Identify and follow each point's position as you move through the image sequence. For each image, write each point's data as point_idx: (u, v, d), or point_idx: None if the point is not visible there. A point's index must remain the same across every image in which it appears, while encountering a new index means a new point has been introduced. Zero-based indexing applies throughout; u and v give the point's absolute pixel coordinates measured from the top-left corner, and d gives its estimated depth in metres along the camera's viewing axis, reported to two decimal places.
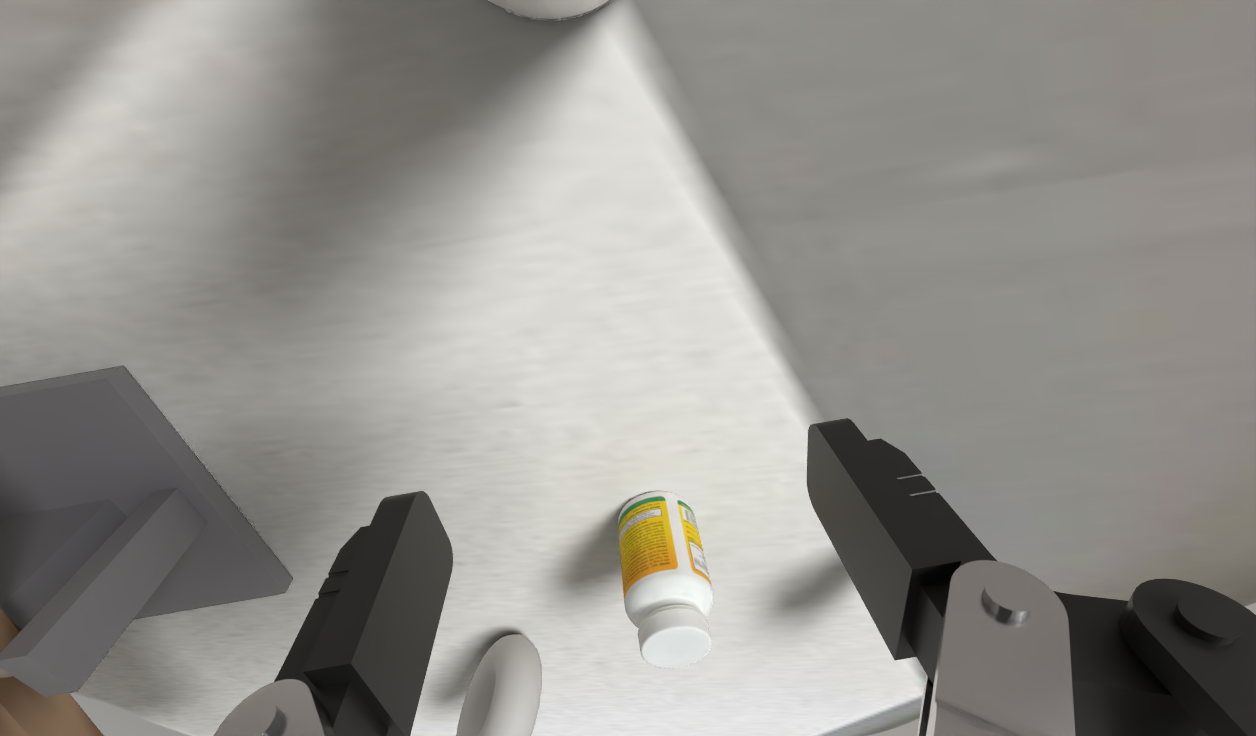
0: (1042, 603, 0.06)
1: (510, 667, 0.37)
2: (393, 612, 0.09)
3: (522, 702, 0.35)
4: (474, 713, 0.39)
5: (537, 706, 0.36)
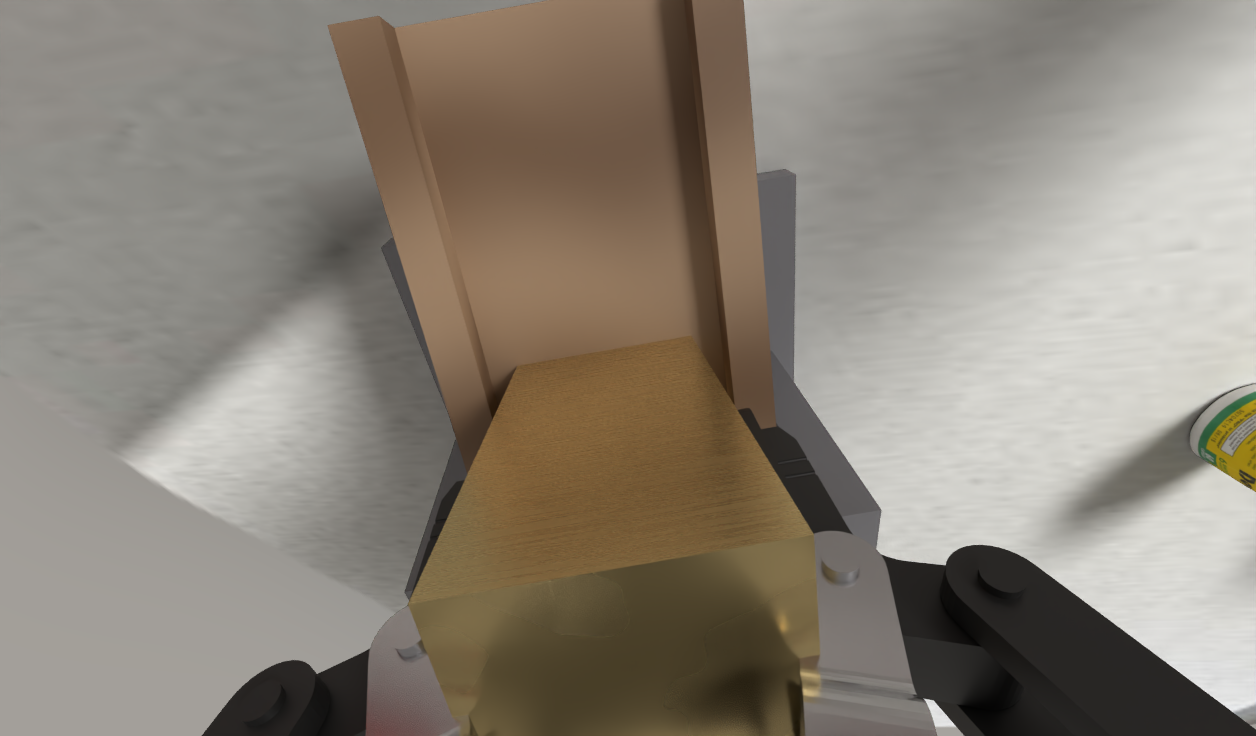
0: (869, 566, 0.07)
1: None
2: None
3: None
4: None
5: None
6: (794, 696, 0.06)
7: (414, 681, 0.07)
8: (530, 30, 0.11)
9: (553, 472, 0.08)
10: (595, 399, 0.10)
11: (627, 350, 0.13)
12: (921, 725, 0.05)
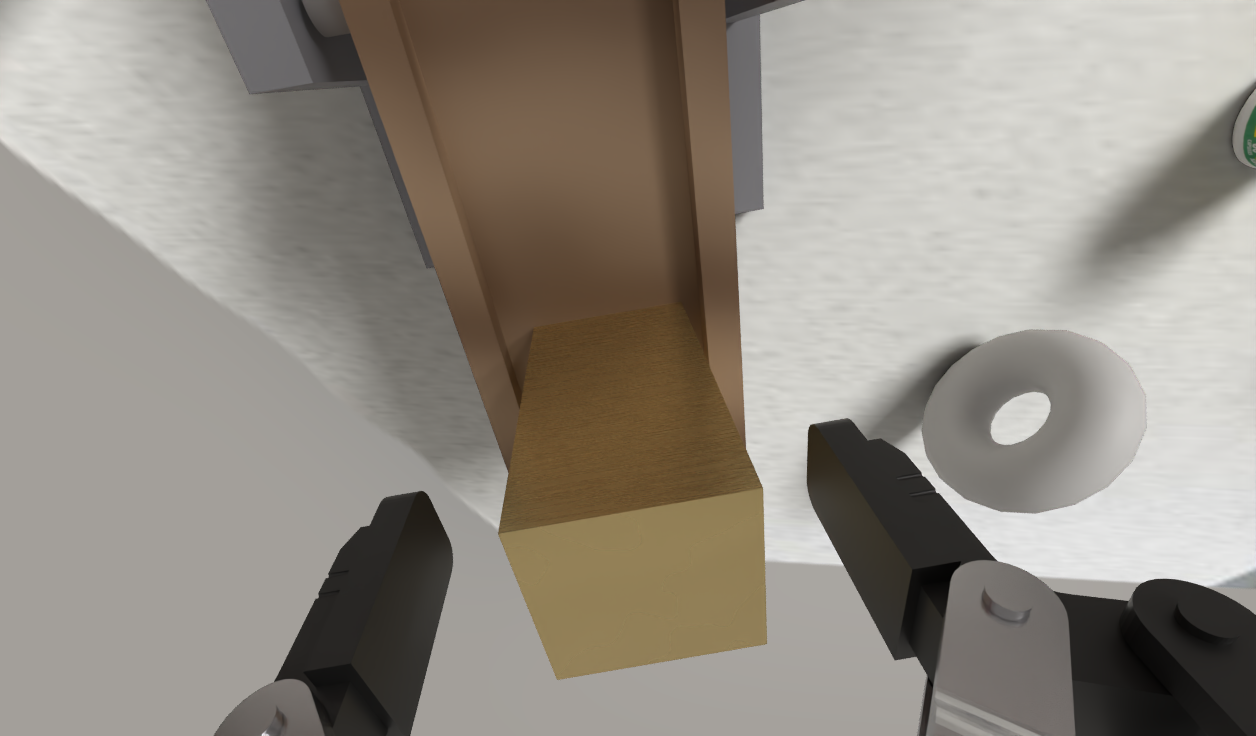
0: (1042, 603, 0.06)
1: (1070, 337, 0.25)
2: (393, 612, 0.09)
3: (1128, 365, 0.24)
4: (972, 434, 0.28)
5: None
6: (747, 582, 0.10)
7: None
8: None
9: (580, 435, 0.11)
10: (605, 367, 0.13)
11: (627, 315, 0.15)
12: None
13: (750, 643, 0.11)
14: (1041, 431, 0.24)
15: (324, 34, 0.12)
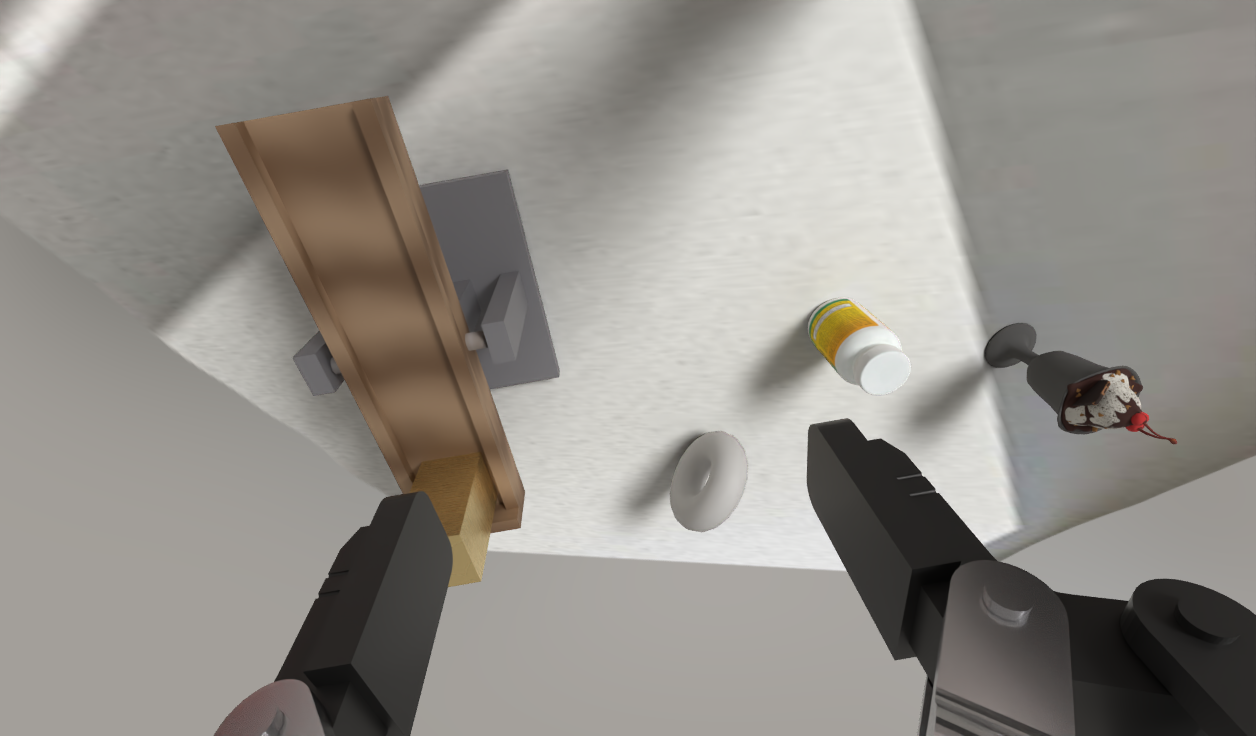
0: (1042, 602, 0.06)
1: (723, 440, 0.48)
2: (393, 612, 0.09)
3: (739, 458, 0.47)
4: (686, 488, 0.51)
5: (747, 466, 0.48)
6: (465, 561, 0.33)
7: None
8: (299, 121, 0.27)
9: None
10: (438, 486, 0.36)
11: (457, 458, 0.39)
12: None
13: (476, 581, 0.34)
14: (701, 490, 0.48)
15: (338, 373, 0.35)
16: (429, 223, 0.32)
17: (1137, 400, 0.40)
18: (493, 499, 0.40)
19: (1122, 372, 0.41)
